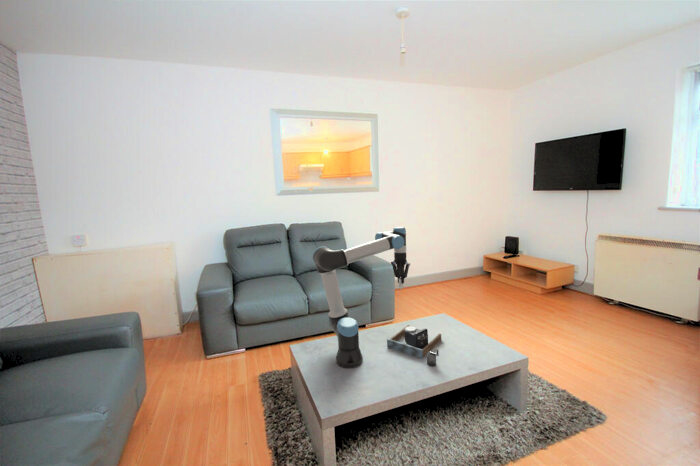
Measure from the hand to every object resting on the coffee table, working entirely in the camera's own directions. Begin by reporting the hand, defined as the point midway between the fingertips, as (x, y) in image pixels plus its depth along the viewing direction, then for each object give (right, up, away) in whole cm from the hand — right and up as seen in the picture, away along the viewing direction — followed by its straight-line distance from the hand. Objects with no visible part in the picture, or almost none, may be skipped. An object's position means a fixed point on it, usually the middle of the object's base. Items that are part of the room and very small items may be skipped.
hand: (401, 288), depth 200 cm
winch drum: (+12, -36, -28) cm, 47 cm away
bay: (+8, -33, -5) cm, 34 cm away
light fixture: (+7, -34, -7) cm, 35 cm away
